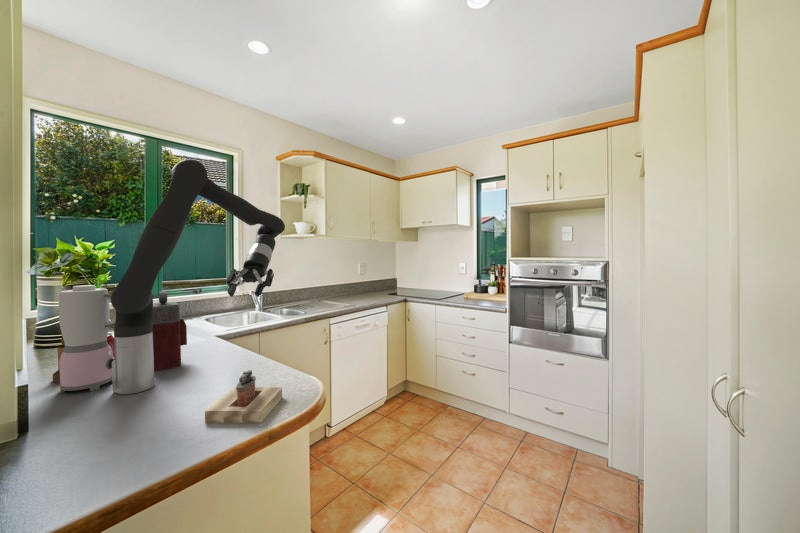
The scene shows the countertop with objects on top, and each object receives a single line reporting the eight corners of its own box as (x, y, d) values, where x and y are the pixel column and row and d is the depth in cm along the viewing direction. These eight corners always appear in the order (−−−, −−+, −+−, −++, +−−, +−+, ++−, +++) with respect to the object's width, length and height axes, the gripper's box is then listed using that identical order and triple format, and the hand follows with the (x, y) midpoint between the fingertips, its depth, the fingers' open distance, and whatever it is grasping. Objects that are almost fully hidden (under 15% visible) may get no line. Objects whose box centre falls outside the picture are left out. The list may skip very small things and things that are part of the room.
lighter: (246, 402, 91) (245, 367, 91) (258, 401, 91) (258, 367, 91) (233, 416, 83) (232, 378, 83) (247, 416, 83) (246, 378, 83)
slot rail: (205, 422, 80) (204, 410, 80) (234, 397, 94) (234, 387, 94) (261, 422, 80) (260, 410, 80) (282, 397, 94) (282, 387, 94)
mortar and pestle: (62, 383, 105) (60, 328, 104) (47, 381, 106) (44, 327, 105) (86, 375, 111) (83, 323, 110) (71, 374, 112) (69, 323, 112)
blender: (48, 396, 95) (42, 288, 93) (78, 380, 106) (74, 284, 105) (111, 391, 98) (107, 287, 97) (134, 376, 110) (130, 283, 109)
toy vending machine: (188, 364, 122) (186, 291, 121) (151, 372, 114) (148, 293, 113) (184, 359, 128) (182, 289, 127) (149, 365, 121) (146, 291, 120)
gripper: (234, 251, 112) (216, 287, 101) (275, 251, 112) (261, 287, 101) (242, 266, 117) (226, 302, 106) (281, 266, 117) (269, 302, 106)
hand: (243, 295), depth 103 cm, fingers open, 8 cm apart
